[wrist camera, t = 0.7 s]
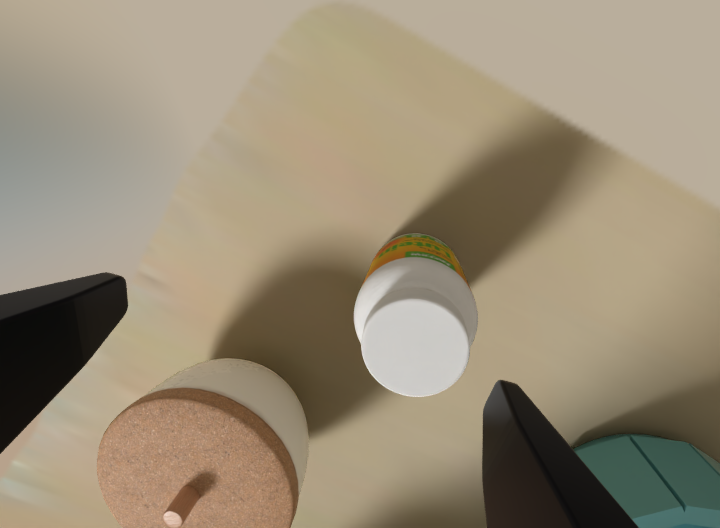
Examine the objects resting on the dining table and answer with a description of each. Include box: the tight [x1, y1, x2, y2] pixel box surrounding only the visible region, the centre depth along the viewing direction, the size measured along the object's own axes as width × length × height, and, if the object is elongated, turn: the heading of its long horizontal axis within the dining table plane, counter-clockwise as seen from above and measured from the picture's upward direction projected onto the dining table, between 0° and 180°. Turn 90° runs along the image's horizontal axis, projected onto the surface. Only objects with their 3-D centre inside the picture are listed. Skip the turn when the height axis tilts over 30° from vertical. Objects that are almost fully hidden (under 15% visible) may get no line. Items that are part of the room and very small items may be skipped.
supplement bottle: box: [354, 233, 478, 397], centre depth 19 cm, size 5×5×10 cm
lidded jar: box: [97, 358, 309, 528], centre depth 23 cm, size 11×11×9 cm
